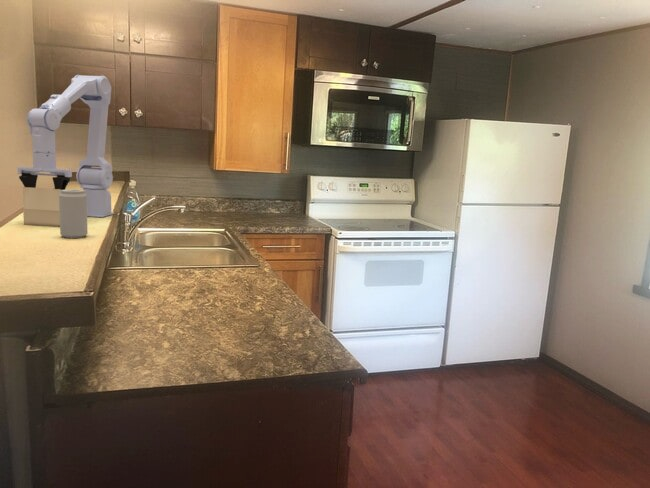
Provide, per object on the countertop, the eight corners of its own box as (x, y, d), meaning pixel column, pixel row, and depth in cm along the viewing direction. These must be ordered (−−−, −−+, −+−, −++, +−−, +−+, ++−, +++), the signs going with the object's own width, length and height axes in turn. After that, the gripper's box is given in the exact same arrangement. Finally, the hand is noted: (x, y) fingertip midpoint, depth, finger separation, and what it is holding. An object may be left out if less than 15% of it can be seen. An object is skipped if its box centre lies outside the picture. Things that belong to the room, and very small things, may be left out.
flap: (23, 187, 153) (23, 187, 152) (61, 189, 152) (60, 189, 152) (23, 208, 153) (23, 208, 153) (60, 210, 153) (60, 210, 153)
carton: (35, 221, 160) (35, 206, 159) (72, 223, 160) (72, 208, 159) (23, 224, 154) (23, 208, 153) (62, 226, 154) (61, 211, 153)
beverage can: (92, 235, 144) (91, 189, 141) (79, 239, 137) (77, 191, 135) (69, 233, 144) (68, 188, 142) (55, 237, 138) (53, 190, 136)
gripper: (10, 151, 149) (12, 200, 151) (62, 154, 148) (63, 204, 150) (25, 151, 156) (26, 198, 158) (75, 154, 155) (76, 201, 157)
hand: (45, 201), depth 155 cm, fingers open, 7 cm apart
